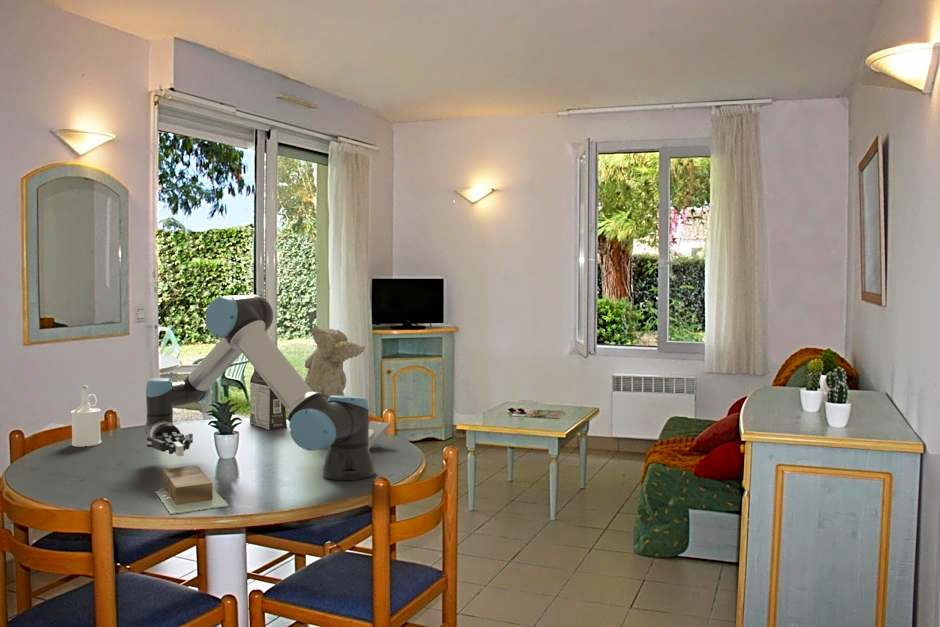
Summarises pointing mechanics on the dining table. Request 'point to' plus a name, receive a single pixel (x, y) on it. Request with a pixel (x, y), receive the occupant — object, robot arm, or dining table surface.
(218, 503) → the mat
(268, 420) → the protein powder
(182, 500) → the block
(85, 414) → the white handled jug
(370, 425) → the light switch
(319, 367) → the sculpture
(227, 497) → the dining table surface
